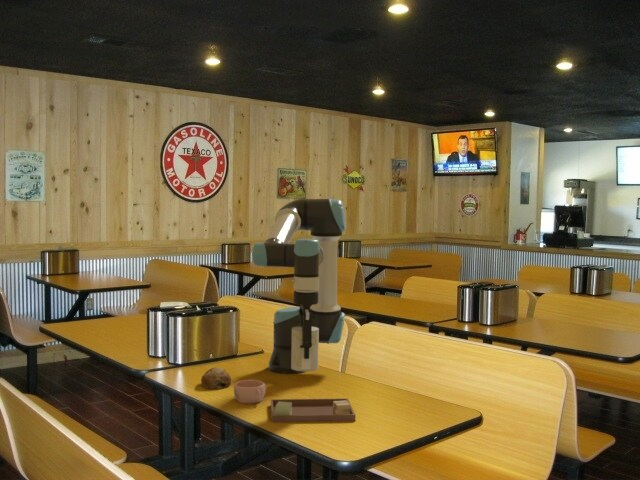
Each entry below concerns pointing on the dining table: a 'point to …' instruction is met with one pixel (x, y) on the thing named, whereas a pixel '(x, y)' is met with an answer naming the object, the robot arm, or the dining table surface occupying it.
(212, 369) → the bread roll
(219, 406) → the dining table surface
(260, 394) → the mug
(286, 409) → the sage block
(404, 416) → the dining table surface
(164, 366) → the dining table surface
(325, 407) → the tray
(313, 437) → the dining table surface
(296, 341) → the cup
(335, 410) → the maple block
